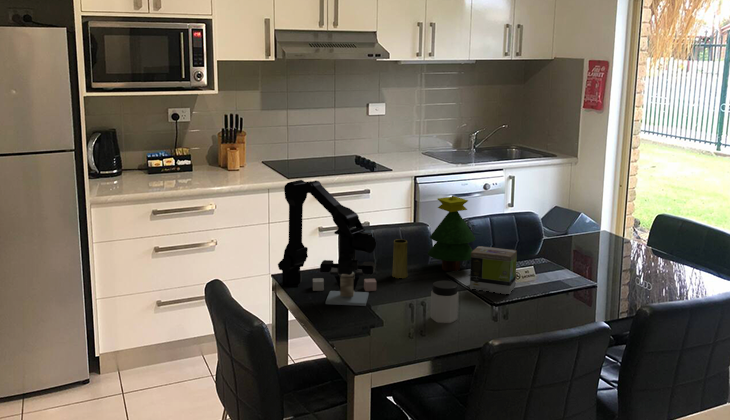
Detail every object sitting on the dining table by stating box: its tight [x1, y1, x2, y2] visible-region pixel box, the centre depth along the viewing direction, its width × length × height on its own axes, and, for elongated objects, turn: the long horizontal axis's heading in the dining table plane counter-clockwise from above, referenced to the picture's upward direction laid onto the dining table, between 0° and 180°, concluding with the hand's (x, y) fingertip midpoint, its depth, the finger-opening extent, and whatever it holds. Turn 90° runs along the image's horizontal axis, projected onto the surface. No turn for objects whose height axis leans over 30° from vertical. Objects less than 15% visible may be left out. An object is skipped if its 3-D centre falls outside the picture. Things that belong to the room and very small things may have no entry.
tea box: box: [469, 245, 518, 295], centre depth 272 cm, size 15×10×15 cm, turn 65°
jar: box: [429, 280, 459, 324], centre depth 244 cm, size 9×8×12 cm
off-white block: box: [312, 277, 325, 292], centre depth 272 cm, size 4×4×4 cm
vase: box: [391, 238, 409, 279], centre depth 286 cm, size 6×6×14 cm
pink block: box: [363, 278, 377, 292], centre depth 272 cm, size 4×4×4 cm
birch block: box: [339, 273, 356, 297], centre depth 261 cm, size 4×4×7 cm
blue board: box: [325, 290, 370, 307], centre depth 262 cm, size 14×11×1 cm
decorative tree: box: [427, 195, 477, 272], centre depth 293 cm, size 19×19×30 cm
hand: (347, 290), depth 261 cm, fingers closed on birch block, 4 cm apart
